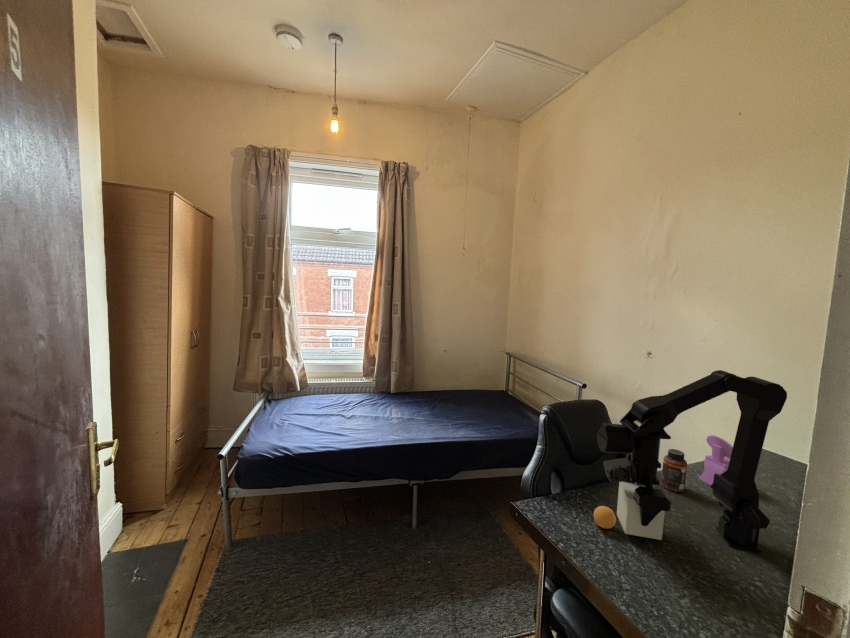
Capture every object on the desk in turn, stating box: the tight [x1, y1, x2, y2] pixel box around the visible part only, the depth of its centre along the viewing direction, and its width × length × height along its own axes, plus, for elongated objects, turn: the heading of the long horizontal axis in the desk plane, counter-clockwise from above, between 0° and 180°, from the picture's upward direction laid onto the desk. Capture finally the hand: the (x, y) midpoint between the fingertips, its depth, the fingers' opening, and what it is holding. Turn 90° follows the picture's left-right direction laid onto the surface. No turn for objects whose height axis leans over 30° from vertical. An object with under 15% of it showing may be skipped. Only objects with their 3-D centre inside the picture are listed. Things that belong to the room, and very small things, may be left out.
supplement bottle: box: [660, 448, 688, 493], centre depth 110 cm, size 6×6×11 cm
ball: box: [593, 505, 617, 529], centre depth 91 cm, size 5×5×5 cm
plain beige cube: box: [616, 481, 666, 541], centre depth 89 cm, size 8×8×9 cm
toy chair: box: [698, 434, 733, 486], centre depth 114 cm, size 8×9×15 cm
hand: (638, 515), depth 89 cm, fingers closed on plain beige cube, 8 cm apart
